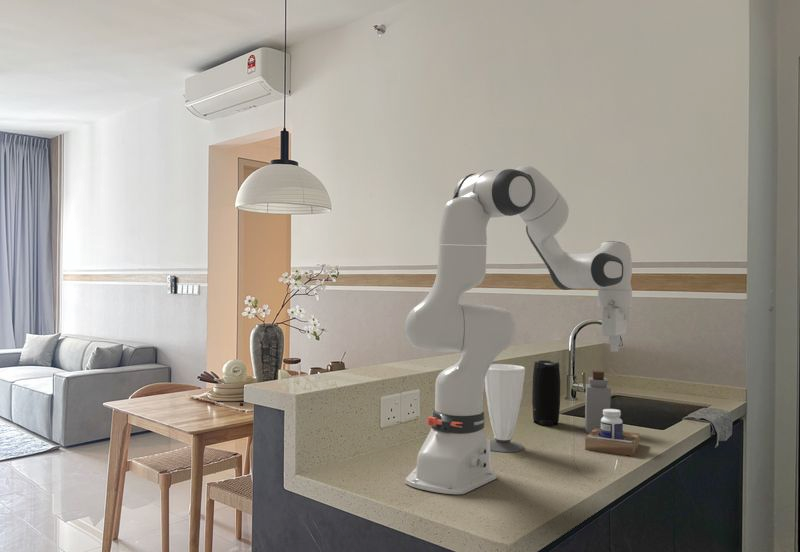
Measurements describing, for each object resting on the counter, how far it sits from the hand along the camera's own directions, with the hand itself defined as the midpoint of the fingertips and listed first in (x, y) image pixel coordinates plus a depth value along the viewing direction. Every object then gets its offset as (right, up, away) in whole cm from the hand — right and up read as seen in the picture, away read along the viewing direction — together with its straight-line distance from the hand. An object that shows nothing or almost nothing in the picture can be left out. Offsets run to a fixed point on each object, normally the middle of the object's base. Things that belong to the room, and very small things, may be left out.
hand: (614, 351), depth 165 cm
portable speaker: (-12, -26, +27) cm, 40 cm away
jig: (-1, -26, 0) cm, 26 cm away
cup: (-31, -26, -2) cm, 40 cm away
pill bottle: (-1, -26, 0) cm, 26 cm away
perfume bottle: (+1, -27, +18) cm, 32 cm away
